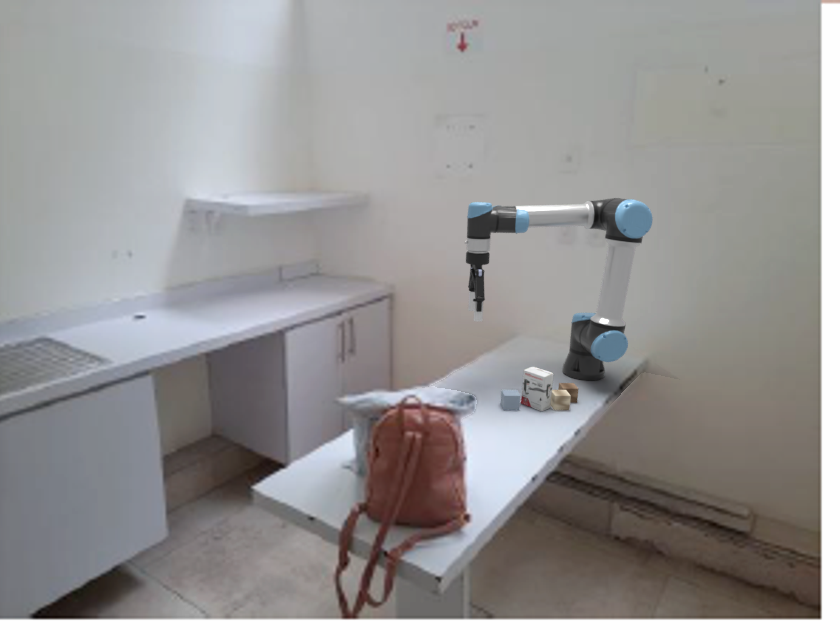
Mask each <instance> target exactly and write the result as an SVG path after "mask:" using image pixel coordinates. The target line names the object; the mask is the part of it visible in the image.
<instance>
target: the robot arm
mask: <svg viewBox="0 0 840 630" xmlns="http://www.w3.org/2000/svg"><path fill="white" fill-rule="evenodd" d="M467 208H468V209H467V216H466V218H467V222H466V240H465V241H464V244H465V245H466V253H465V263H466V264H468V265H469V266H470V269H469V280H468V285H467V287H468V305H467V306H468V307H467V311H468V312H473V322H483V315H484V312H483V311H484V301H485V300H486V298H485V269H483V266H485V265H489V264H490V251H491V241H492V240H491V239H492V238H491V235H492V233H493V234H498V233H500V234H516V235H517V234H524V233H526V232H527V231H528V229H530V228H562V227H563V228H564V227H566V228H567V227H569V228H570V227H584V228H585V229H586V230H589V229H590V230H592V229H593V230H599V231H605V235H604V240H605V241H606V243H607V245H608V246H607V251H606V252H607V253H606V257H605V263H604V266H603V267H604V268H603V273H602V278H601V284H600V285H601V286H600V290H599V295H598V302H597V305H596V306H597V308H596V311H595V312H577V313H574V314H573V315H572V319H571V320H572V321H571V328H570V336H569V337H570V339H569V350H568V354H567V356H566V358H565V361H564V363H563V364H562V373H563V374H564V375H566V376H567V377H569V378H573V379H578V380H583V381H598V380H601V379H603V378H605V374H606V369H605V364H604V363H612V362H616V361H618V360H619V359H621V358H623V356H624V355H625V354H626V353H627V350H628V346H629V340H628V338H627V336H626V334H625V329H626V322H625V321H624V319H623V315H624V310H625V305H626V300H627V295H628V289H629V283H630V279H631V273H632V269H633V265H634V264H633V263H634V258H635V252H636V249H637V248H638V247H639V246H640V245H642V242H643V238H644V236H645V235H646V234H647V233H648V232H650V229H651V228H652V225H653V214H652V213H653V212H651V211H652V210H651V209H650V208H649V206H648V205H647V204H645V202H643V201H641V200H637V199H634V198H633V199H629V198H619V197H613V198H605V199H604V198H603V199H599V200H598V199H597V200H587V201H585V202H584V203H573V204H572V203H571V204H568V203H567V204H541V205H540V204H536V205H535V204H534V205H533V204H532V205H530V204H529V205H505V206H504V205H503V206H502V205H494V206H493V204H492V203H491V202H484V201H482V202H481V201H474V202H470V203H469V204H468V207H467Z"/></svg>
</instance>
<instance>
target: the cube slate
mask: <svg viewBox="0 0 840 630" xmlns="http://www.w3.org/2000/svg"><path fill="white" fill-rule="evenodd" d="M520 404H521V394H520V393H519V391H518V389H501V390H500V406H501V408H502V410H503V411H520V409H521V408H520V406H521V405H520Z"/></svg>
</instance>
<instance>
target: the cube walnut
mask: <svg viewBox="0 0 840 630" xmlns="http://www.w3.org/2000/svg"><path fill="white" fill-rule="evenodd" d="M557 390H567V392H568V393H569V394H570V395H571V399H570V404H576V403H577V404H578V399H579V398H578V397H579V387H578V386H577V385H576V384H575V383H574V382H559V383H558V388H557Z"/></svg>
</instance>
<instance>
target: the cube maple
mask: <svg viewBox="0 0 840 630" xmlns="http://www.w3.org/2000/svg"><path fill="white" fill-rule="evenodd" d="M570 399H571V395H570V394H569V393H568V392H567V390H558V389H552V395H551V405H550V408H551V409H552V410H553V411H570V409H571V403H570Z"/></svg>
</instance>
